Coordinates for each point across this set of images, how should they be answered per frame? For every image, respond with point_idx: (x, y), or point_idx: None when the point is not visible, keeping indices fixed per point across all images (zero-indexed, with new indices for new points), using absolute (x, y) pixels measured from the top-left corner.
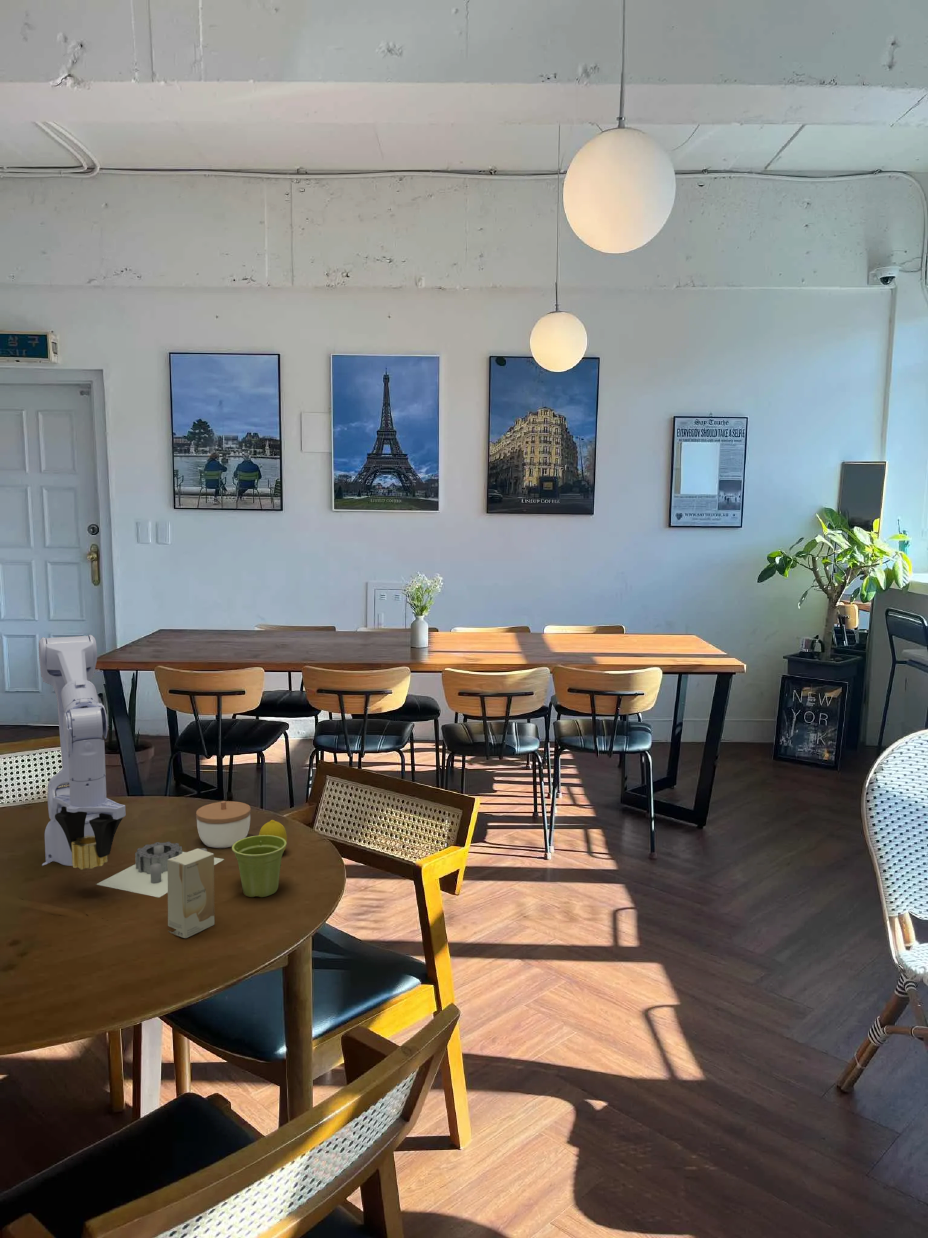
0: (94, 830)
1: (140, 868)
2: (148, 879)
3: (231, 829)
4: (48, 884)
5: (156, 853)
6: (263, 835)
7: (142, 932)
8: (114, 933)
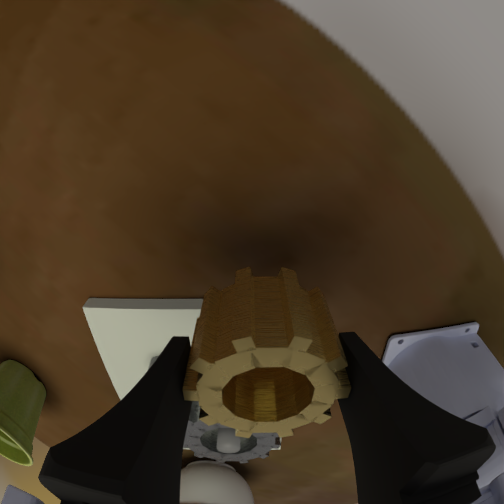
0: (133, 438)
1: None
2: None
3: None
4: (426, 273)
5: (225, 433)
6: (25, 465)
7: (12, 182)
8: (49, 144)
